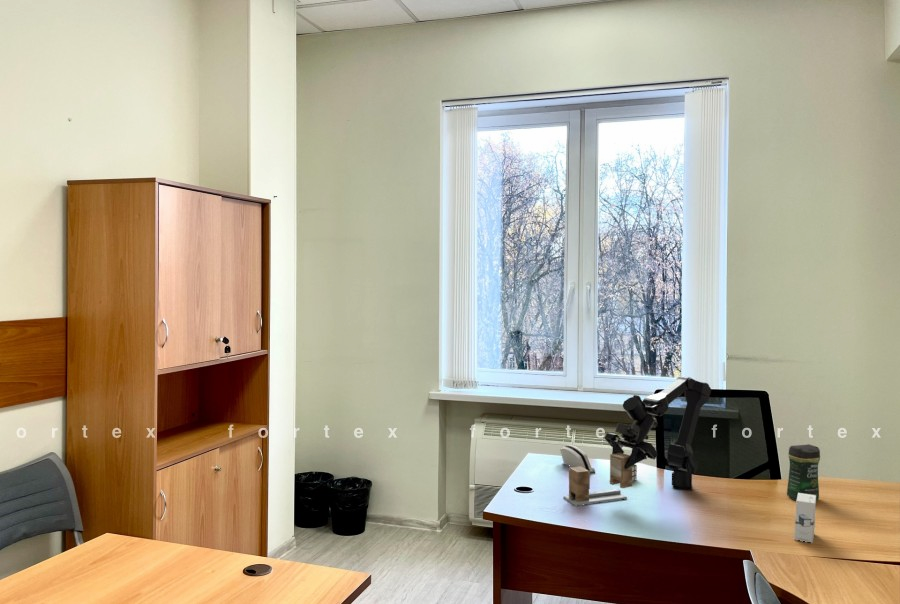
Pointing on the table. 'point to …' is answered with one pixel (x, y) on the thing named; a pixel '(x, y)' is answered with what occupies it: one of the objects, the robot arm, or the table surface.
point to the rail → (599, 494)
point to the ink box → (805, 517)
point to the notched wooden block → (620, 470)
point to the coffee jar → (803, 470)
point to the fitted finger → (579, 483)
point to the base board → (597, 499)
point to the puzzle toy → (634, 472)
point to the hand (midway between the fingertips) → (618, 466)
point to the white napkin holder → (575, 457)
